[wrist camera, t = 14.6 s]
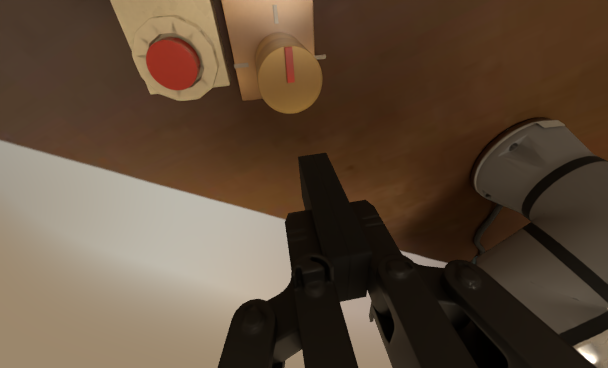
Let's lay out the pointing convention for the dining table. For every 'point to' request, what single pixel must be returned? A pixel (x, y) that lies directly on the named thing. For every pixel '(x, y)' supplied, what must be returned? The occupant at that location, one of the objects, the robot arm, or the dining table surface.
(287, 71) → the dimmer knob
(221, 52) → the lamp base
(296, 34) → the dimmer console
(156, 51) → the lamp switch
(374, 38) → the dining table surface
